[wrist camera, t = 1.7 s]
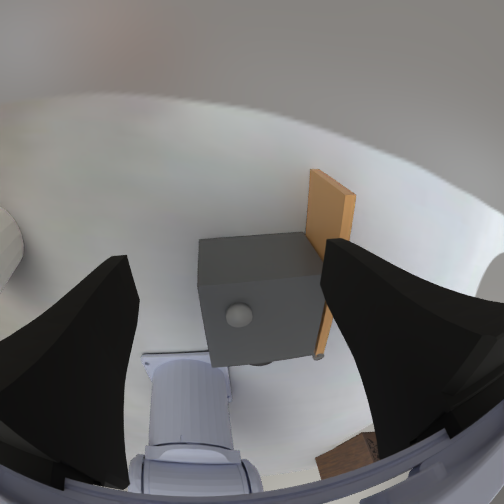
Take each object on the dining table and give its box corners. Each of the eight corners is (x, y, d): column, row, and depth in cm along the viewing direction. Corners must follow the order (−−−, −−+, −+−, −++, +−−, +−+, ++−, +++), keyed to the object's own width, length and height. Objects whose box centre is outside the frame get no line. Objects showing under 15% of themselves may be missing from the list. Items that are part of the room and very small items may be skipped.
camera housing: (293, 318, 23) (312, 369, 18) (210, 327, 22) (214, 383, 17) (302, 231, 19) (333, 278, 14) (199, 239, 18) (197, 292, 13)
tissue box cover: (314, 457, 51) (324, 490, 43) (361, 432, 46) (375, 468, 38) (367, 451, 62) (376, 476, 53) (405, 428, 57) (417, 454, 48)
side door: (304, 314, 23) (323, 359, 18) (295, 315, 23) (312, 361, 18) (320, 169, 17) (357, 194, 12) (308, 169, 16) (343, 194, 12)
